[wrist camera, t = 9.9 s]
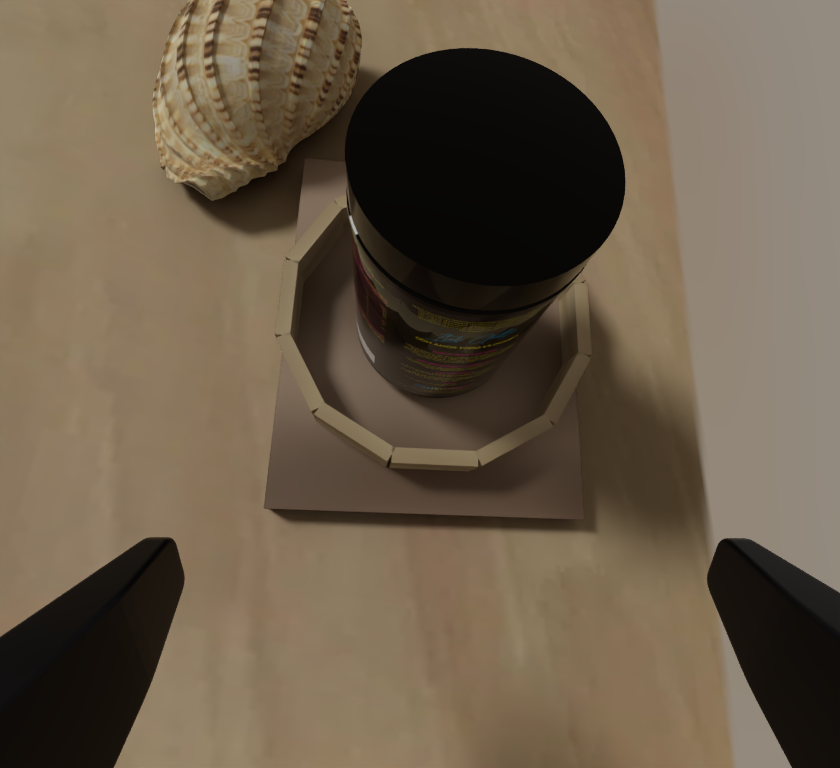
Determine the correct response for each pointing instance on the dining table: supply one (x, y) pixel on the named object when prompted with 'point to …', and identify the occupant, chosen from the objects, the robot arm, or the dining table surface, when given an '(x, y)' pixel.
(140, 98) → the dining table surface
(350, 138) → the supplement container
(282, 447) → the collar board
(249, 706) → the dining table surface
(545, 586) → the dining table surface
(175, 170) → the seashell
